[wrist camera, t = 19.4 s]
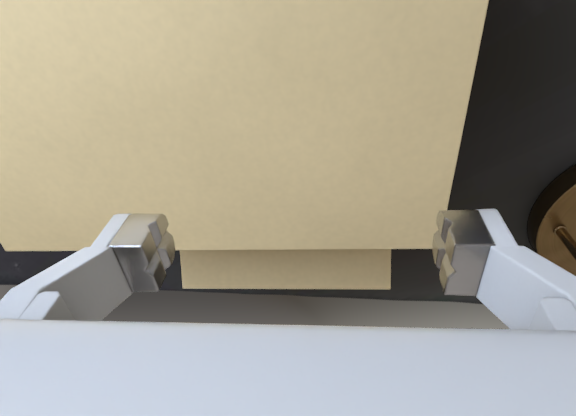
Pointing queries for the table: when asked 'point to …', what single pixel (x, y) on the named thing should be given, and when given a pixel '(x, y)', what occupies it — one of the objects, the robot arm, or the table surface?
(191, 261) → the oven door
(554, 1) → the table surface
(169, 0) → the oven
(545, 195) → the lamp
